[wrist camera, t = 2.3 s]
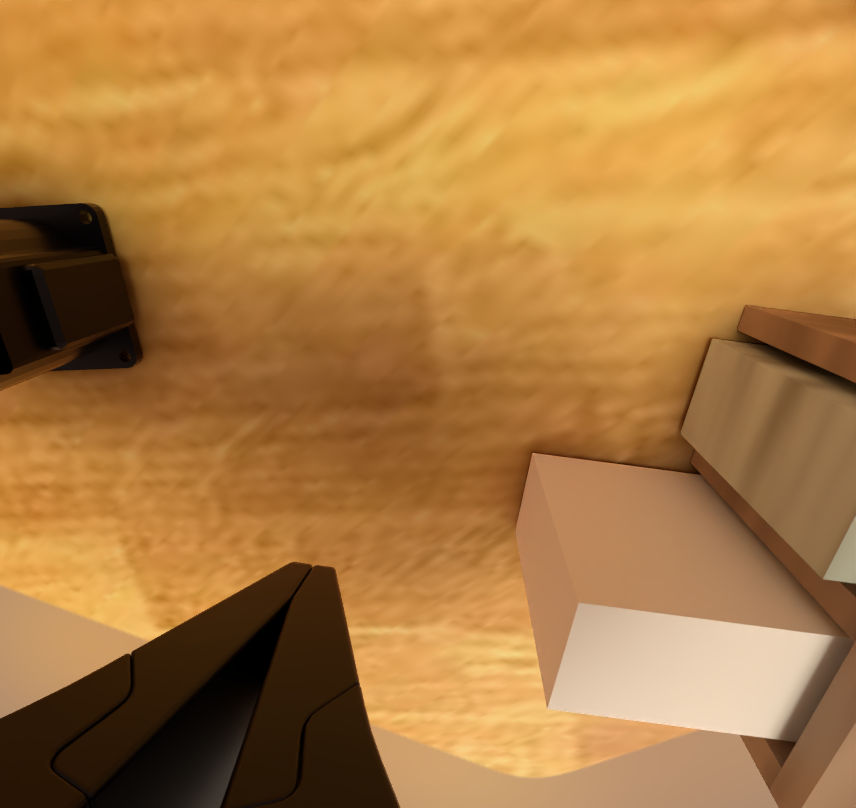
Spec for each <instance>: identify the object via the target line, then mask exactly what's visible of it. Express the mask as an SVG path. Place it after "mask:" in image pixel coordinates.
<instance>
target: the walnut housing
mask: <svg viewBox="0 0 856 808" xmlns="http://www.w3.org/2000/svg"><path fill="white" fill-rule="evenodd" d="M737 330H738V331H740V332H742V333H745V334H747V335H749V336H751V337H754V338H756V339H758V340H760V341H763V342H765V343H767V344H769V345H772V346H767V345H759V344H751V343H744V342H736V341H728V340H720V339H713V338H712V341H711V344H710V347H709V350H708V353H707V356H706V359H705V362H704V365H703V368H702V371H701V374H700V377H699V379H698V382H697V385H696V388H695V391H694V394H693V397H692V400H691V403H690V406H689V409H688V412H687V415H686V418H685V421H684V424H683V427H682V430H681V433H680V434H681V435H682V436H683V437H684V438H685V439H686V440H687V441H688V442H689V443H690V444H691V445H692V446H693V447H694V448H695V450H694V453H693V456H692V458H691V461H690V463H691V464H692V465H693V466H694V467H695V468H696V469H697V470H698V471H699V473H700V474H701V475H702V476H703V477H704V478H705V479H706V480H707V481H708V482H709V484H710V485H711V486H712V487H713V488H714V489H715V490H716V491H717V492H718V493H719V495H720V496H721V497H722V498H723V499H724V500H725V501H726V502H727V503H728V504H729V505H730V507H731V508H732V509H733V510H734V511H735V512H736V513H737V514H738V515H739V516H740V518H741V519H742V520H743V521H744V522H745V523H746V524H747V525H748V526H749V527H750V529H751V530H752V531H753V532H754V533H755V534H756V535H757V536H758V537H759V538H760V540H761V541H762V542H763V543H764V544H765V545H766V546H767V547H768V548H769V549H770V551H771V552H772V553H773V554H774V555H775V556H776V557H777V558H778V559H779V560H780V561H781V563H782V564H783V565H784V566H785V567H786V568H787V569H788V570H789V571H790V572H791V574H792V575H793V576H794V577H795V578H796V579H797V580H798V581H799V582H800V583H801V585H802V586H803V587H804V588H805V589H806V590H807V591H808V592H809V593H810V594H811V596H812V597H813V598H814V599H815V600H816V601H817V602H818V603H819V604H820V605H821V606H822V608H823V609H824V610H825V611H826V612H827V613H828V614H829V615H830V616H831V617H832V619H833V620H834V621H835V622H836V623H837V624H838V625H839V626H840V627H841V628H842V630H843V631H844V632H845V633H846V634H847V635H848V636H849V637H850V638H851V639H852V641H853V642H854V645H853V646H852V648H851V650H850V651H849V653H848V655H847V657H846V658H845V660H844V662H843V663H842V665H841V667H840V669H839V670H838V672H837V674H836V676H835V677H834V679H833V681H832V682H831V684H830V686H829V688H828V689H827V691H826V693H825V695H824V696H823V698H822V700H821V701H820V703H819V705H818V707H817V708H816V710H815V712H814V713H813V715H812V717H811V719H810V720H809V722H808V724H807V726H806V727H805V729H804V731H803V732H802V734H801V736H800V738H799V739H798V741H797V742H792V741H784V740H777V739H769V738H762V737H754V736H747V735H740V736H741V738H742V740H743V742H744V743H745V745H746V747H747V749H748V751H749V753H750V754H751V757H752V758H753V760H754V762H755V764H756V766H757V768H758V769H759V771H760V773H761V775H762V777H763V779H764V781H765V783H766V785H767V786H768V788H769V790H770V792H771V794H772V796H773V797H774V799H775V801H776V803H777V805H778V807H779V808H856V319H849V318H841V317H833V316H826V315H818V314H810V313H802V312H795V311H787V310H779V309H772V308H764V307H756V306H748V305H746V306H745V309H744V312H743V315H742V318H741V320H740V323H739V326H738V329H737Z"/></svg>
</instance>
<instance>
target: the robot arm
mask: <svg viewBox="0 0 856 808" xmlns="http://www.w3.org/2000/svg"><path fill="white" fill-rule="evenodd" d="M86 212H89V213H90V215H91V217H92V221H91V223H89V222H88V221H87V219H86ZM133 320H134V317H133V314H132V310H131V306H130V303H129V299H128V295H127V292H126V288H125V284H124V280H123V277H122V273H121V269H120V266H119V262H118V260H117V259H116V257H115V253H114V250H113V246H112V242H111V239H110V235H109V231H108V228H107V224H106V220H105V217H104V214H103V212H102V211H101V209H100V208H99V207H98V206H96V205H94V204H90V203H78V204H62V205H46V206H30V207H14V208H0V391H1V390H3V389H6V388H8V387H11V386H13V385H16V384H18V383H20V382H23V381H25V380H28V379H30V378H33V377H35V376H38V375H40V374H43V373H45V372H47V371H62V370H87V369H113V368H130V367H133V366H135V365H137V364H138V363H139V362H141V359H142V353H141V349H140V345H139V342H138V338H137V334H136V331H135V327H134V323H133ZM125 351H127V352H128V353H129V354H130V356H131V359H128V358H127V357H126V356H125ZM0 808H400V806H399V803H398V800H397V798H396V795H395V793H394V790H393V788H392V785H391V783H390V780H389V778H388V775H387V773H386V770H385V767H384V765H383V762H382V760H381V757H380V754H379V751H378V749H377V746H376V743H375V740H374V737H373V734H372V731H371V727H370V723H369V719H368V716H367V712H366V708H365V704H364V699H363V695H362V690H361V687H360V683H359V678H358V674H357V669H356V664H355V660H354V655H353V650H352V645H351V641H350V636H349V631H348V626H347V622H346V617H345V612H344V607H343V603H342V598H341V593H340V588H339V584H338V579H337V574H336V570H335V568H333V567H327V566H320V565H316V566H314V567H312V565H310V564H305V563H298V562H291V563H289V564H287V565H285V566H284V567H282V568H280V569H278V570H276V571H275V572H273V573H271V574H269V575H267V576H266V577H264V578H262V579H260V580H259V581H257V582H255V583H253V584H251V585H250V586H248V587H246V588H244V589H243V590H241V591H239V592H237V593H235V594H234V595H232V596H230V597H228V598H227V599H225V600H223V601H221V602H219V603H218V604H216V605H214V606H212V607H210V608H209V609H207V610H205V611H203V612H202V613H200V614H198V615H196V616H194V617H193V618H191V619H189V620H187V621H186V622H184V623H182V624H180V625H178V626H177V627H175V628H173V629H171V630H169V631H168V632H166V633H164V634H162V635H161V636H159V637H157V638H155V639H153V640H152V641H150V642H148V643H147V644H145V645H143V646H141V647H139V648H137V649H136V650H134V651H133V652H132V653H131V655H130V654H125V655H124V656H122V657H120V658H118V659H116V660H114V661H113V662H111V663H109V664H107V665H105V666H104V667H102V668H100V669H98V670H96V671H94V672H92V673H91V674H89V675H87V676H85V677H83V678H81V679H79V680H78V681H76V682H74V683H72V684H70V685H68V686H66V687H64V688H62V689H60V690H58V691H56V692H54V693H52V694H50V695H48V696H46V697H44V698H42V699H40V700H38V701H36V702H34V703H32V704H30V705H28V706H26V707H24V708H22V709H20V710H17V711H15V712H13V713H11V714H9V715H7V716H5V717H3V718H1V719H0Z"/></svg>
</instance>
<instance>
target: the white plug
mask: <svg viewBox="0 0 856 808" xmlns="http://www.w3.org/2000/svg"><path fill="white" fill-rule="evenodd" d="M515 534H516V540H517V545H518V551H519V556H520V562H521V567H522V573H523V578H524V584H525V589H526V595H527V600H528V606H529V611H530V617H531V622H532V628H533V633H534V639H535V644H536V650H537V655H538V661H539V666H540V672H541V677H542V683H543V688H544V694H545V699H546V705H547V709H550V710H558V711H565V712H573V713H580V714H588V715H596V716H603V717H611V718H618V719H626V720H633V721H641V722H648V723H656V724H664V725H671V726H679V727H686V728H694V729H701V730H709V731H716V732H724V733H732V734H739V735H747V736H754V737H762V738H769V739H777V740H784V741H792V742H797V741H798V739H799V738H800V736H801V734H802V732H803V731H804V729H805V727H806V726H807V724H808V722H809V720H810V719H811V717H812V715H813V713H814V712H815V710H816V708H817V707H818V705H819V703H820V701H821V700H822V698H823V696H824V695H825V693H826V691H827V689H828V688H829V686H830V684H831V682H832V681H833V679H834V677H835V676H836V674H837V672H838V670H839V669H840V667H841V665H842V663H843V662H844V660H845V658H846V657H847V655H848V653H849V651H850V650H851V648H852V646H853V645H854V642H853V641H852V639H851V638H850V637H849V636H848V635H847V634H846V633H845V632H844V631H843V630H842V628H841V627H840V626H839V625H838V624H837V623H836V622H835V621H834V620H833V619H832V617H831V616H830V615H829V614H828V613H827V612H826V611H825V610H824V609H823V608H822V606H821V605H820V604H819V603H818V602H817V601H816V600H815V599H814V598H813V597H812V596H811V594H810V593H809V592H808V591H807V590H806V589H805V588H804V587H803V586H802V585H801V583H800V582H799V581H798V580H797V579H796V578H795V577H794V576H793V575H792V574H791V572H790V571H789V570H788V569H787V568H786V567H785V566H784V565H783V564H782V563H781V561H780V560H779V559H778V558H777V557H776V556H775V555H774V554H773V553H772V552H771V551H770V549H769V548H768V547H767V546H766V545H765V544H764V543H763V542H762V541H761V540H760V538H759V537H758V536H757V535H756V534H755V533H754V532H753V531H752V530H751V529H750V527H749V526H748V525H747V524H746V523H745V522H744V521H743V520H742V519H741V518H740V516H739V515H738V514H737V513H736V512H735V511H734V510H733V509H732V508H731V507H730V505H729V504H728V503H727V502H726V501H725V500H724V499H723V498H722V497H721V496H720V495H719V493H718V492H717V491H716V490H715V489H714V488H713V487H712V486H711V485H710V484H709V482H708V481H707V480H706V479H705V478H704V477H703V476H702V475H698V474H690V473H683V472H675V471H667V470H660V469H652V468H644V467H637V466H629V465H621V464H614V463H606V462H598V461H591V460H583V459H576V458H568V457H560V456H553V455H545V454H537V453H532V457H531V462H530V466H529V471H528V475H527V480H526V484H525V489H524V493H523V498H522V503H521V507H520V512H519V516H518V521H517V525H516V530H515Z"/></svg>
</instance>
